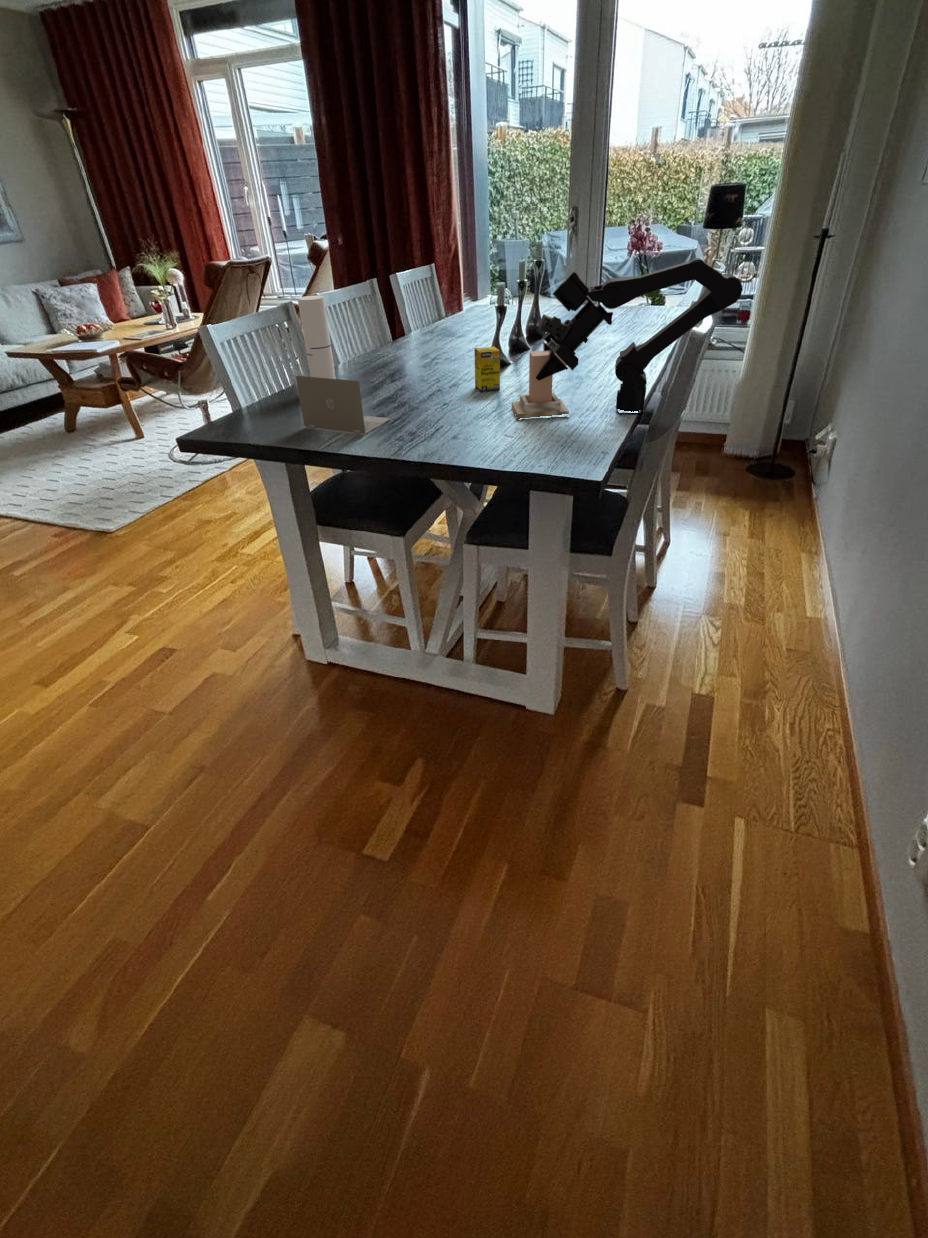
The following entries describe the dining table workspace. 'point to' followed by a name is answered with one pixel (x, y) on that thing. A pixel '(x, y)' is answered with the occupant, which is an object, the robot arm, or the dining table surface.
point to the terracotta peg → (541, 388)
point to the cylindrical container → (316, 336)
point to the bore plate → (538, 407)
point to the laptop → (334, 406)
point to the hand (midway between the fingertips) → (535, 376)
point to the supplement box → (487, 369)
